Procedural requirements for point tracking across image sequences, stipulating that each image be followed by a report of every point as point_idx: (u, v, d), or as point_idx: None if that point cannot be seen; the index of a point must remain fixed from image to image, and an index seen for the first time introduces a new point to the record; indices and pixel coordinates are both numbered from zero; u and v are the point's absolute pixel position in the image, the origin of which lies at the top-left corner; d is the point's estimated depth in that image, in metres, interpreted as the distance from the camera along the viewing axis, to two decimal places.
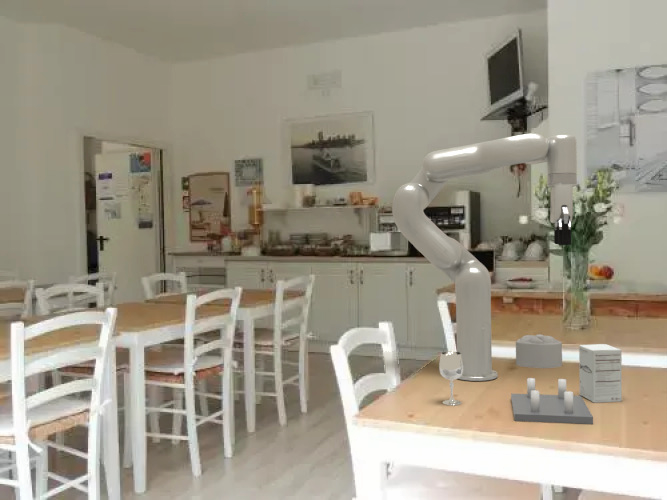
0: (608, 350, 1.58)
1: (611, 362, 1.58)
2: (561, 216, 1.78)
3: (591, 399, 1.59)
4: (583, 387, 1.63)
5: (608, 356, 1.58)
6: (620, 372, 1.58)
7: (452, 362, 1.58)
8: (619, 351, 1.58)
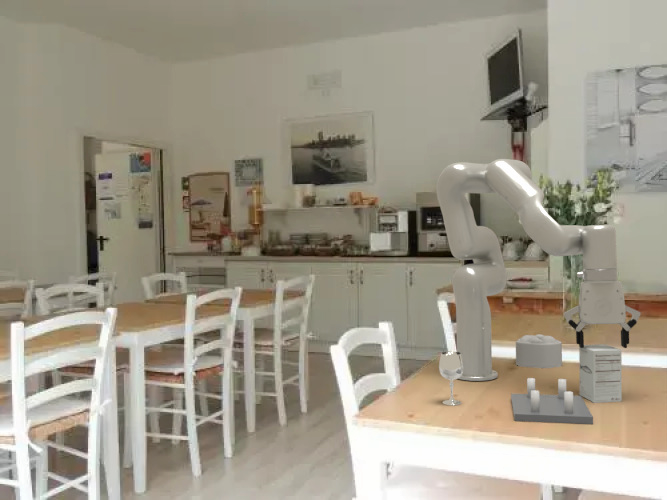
0: (608, 350, 1.58)
1: (611, 363, 1.58)
2: None
3: (591, 399, 1.59)
4: (583, 387, 1.63)
5: (608, 357, 1.58)
6: (620, 372, 1.58)
7: (452, 362, 1.58)
8: (619, 351, 1.58)
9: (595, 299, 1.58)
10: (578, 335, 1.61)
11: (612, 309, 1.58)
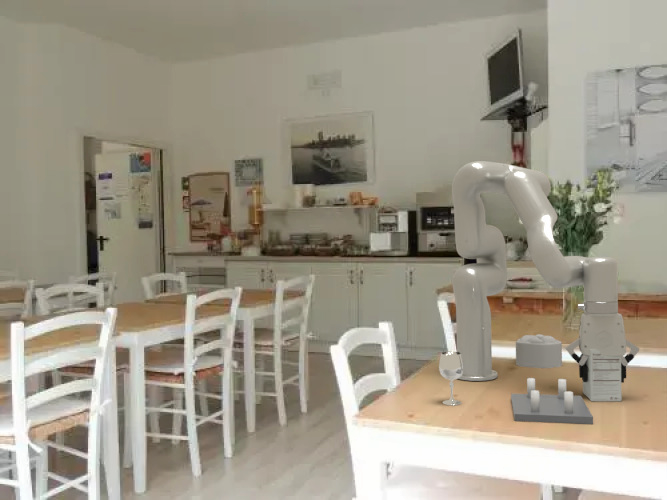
0: None
1: (609, 362, 1.58)
2: None
3: (589, 397, 1.60)
4: (584, 385, 1.64)
5: (606, 356, 1.58)
6: (619, 372, 1.58)
7: (452, 362, 1.58)
8: None
9: (596, 332, 1.59)
10: (581, 369, 1.61)
11: (612, 342, 1.58)
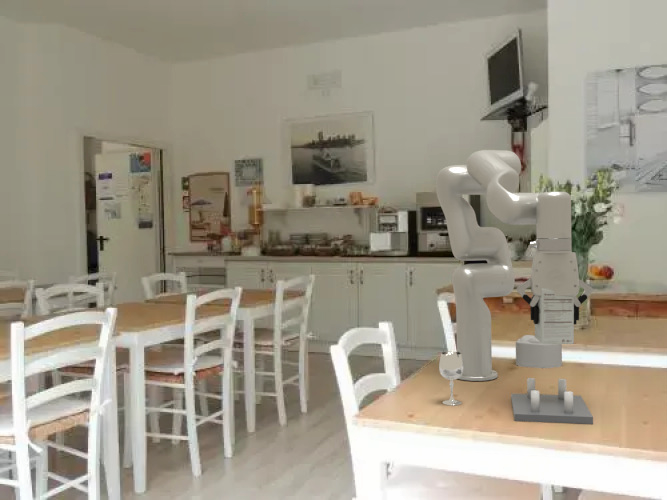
0: None
1: (561, 302, 1.49)
2: None
3: (540, 340, 1.51)
4: (536, 329, 1.55)
5: (558, 296, 1.49)
6: (572, 313, 1.49)
7: (452, 362, 1.58)
8: None
9: (547, 270, 1.50)
10: (532, 310, 1.52)
11: (565, 281, 1.49)
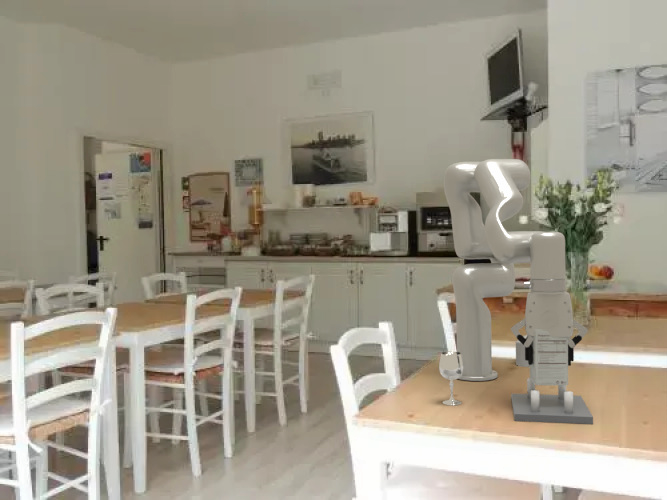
0: None
1: (555, 343, 1.48)
2: None
3: (534, 381, 1.50)
4: (531, 369, 1.54)
5: (552, 337, 1.48)
6: (566, 354, 1.48)
7: (452, 362, 1.58)
8: None
9: (541, 311, 1.49)
10: (526, 351, 1.52)
11: (559, 322, 1.48)
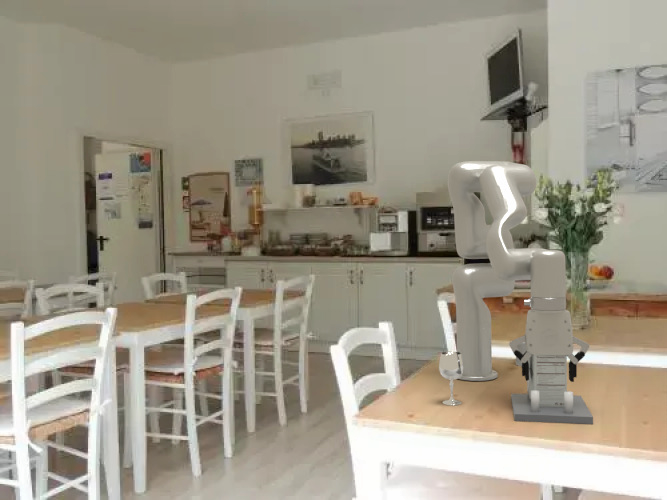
0: None
1: (554, 365, 1.49)
2: None
3: None
4: (530, 390, 1.55)
5: (551, 359, 1.49)
6: (565, 376, 1.49)
7: (452, 362, 1.58)
8: None
9: (541, 329, 1.49)
10: (523, 367, 1.52)
11: (559, 341, 1.48)
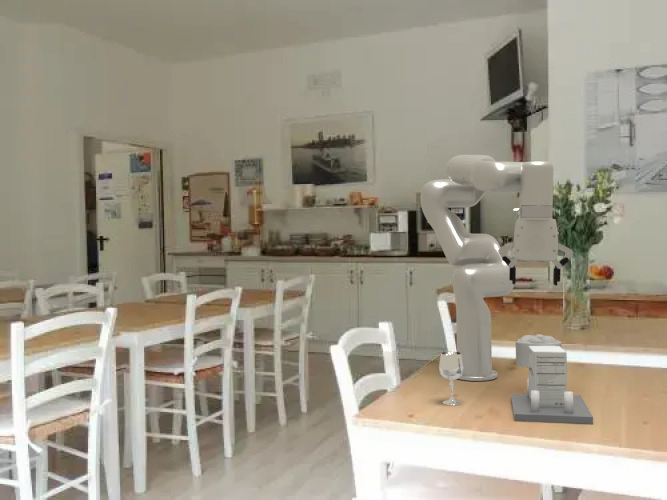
0: (551, 352, 1.49)
1: (554, 365, 1.49)
2: None
3: None
4: (530, 390, 1.55)
5: (551, 359, 1.49)
6: (565, 376, 1.49)
7: (452, 362, 1.58)
8: (563, 354, 1.49)
9: (528, 236, 1.58)
10: (511, 271, 1.62)
11: (544, 246, 1.58)
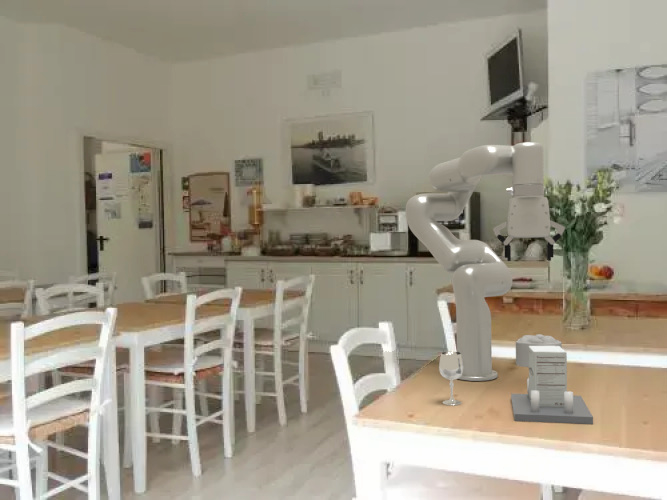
0: (551, 352, 1.49)
1: (554, 365, 1.49)
2: None
3: None
4: (530, 390, 1.55)
5: (551, 359, 1.49)
6: (565, 376, 1.49)
7: (452, 362, 1.58)
8: (563, 354, 1.49)
9: (521, 213, 1.65)
10: (506, 249, 1.68)
11: (537, 223, 1.65)
